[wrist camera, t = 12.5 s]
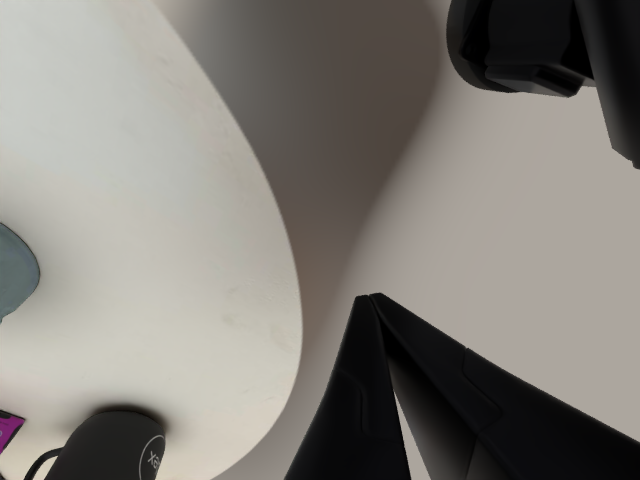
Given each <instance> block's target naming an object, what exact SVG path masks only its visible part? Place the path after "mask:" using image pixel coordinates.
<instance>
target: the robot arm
mask: <svg viewBox="0 0 640 480" xmlns="http://www.w3.org/2000/svg"><path fill="white" fill-rule="evenodd" d="M468 45H470V46H471V52H470V53H469V54H468V55H467V54H466V48H467V46H468ZM458 55H459V58H460V59H462V60H464V61H466V62H469V63H471V64H474V65H476V66H479V67H481V68H483V69H486V72H485V76H486V78H487V79H489V80H492V81H494V82H497V83H499V84H502V85H504V86H507V87H509V88H512V89H514V90H517V91H520V92H527V93H535V94H543V95H551V96H559V97H567V98H569V97H571V96H574V95H576V94H577V92H578V91H579V89H580V88H581V86H588V87H596V88H597V92H598V96H599V100H600V103H601V107H602V111H603V115H604V119H605V123H606V126H607V131H608V134H609V138H610V142H611V145H612V148H613V149H614V150H615V151H617V152H618V153H619V154H621V155H622V156H624V157H625V158H626V159H628V160H631V161H632V163H633V167H635V168H636V169H640V0H480V2H479V4H478V7H477V9H476V11H475V13H474V15H473V18H472V20H471V22H470V24H469V26H468V29H467V31H466V33H465V35H464V37H463V40H462V42H461V44H460V46H459V49H458ZM393 389H394V390H393ZM394 392H395V394H396V396H397V399H398V401H399V404H400V406H401V408H402V411H403V413H404V416H405V418H406V421H407V423H408V425H409V428H410V430H411V433H412V435H413V437H414V440H415V442H416V445H417V447H418V449H419V452H420V454H421V457H422V459H423V462H424V464H425V466H426V468H427V471H428V474H429V476H430V478H431V480H640V442H638V441H636V440H634V439H632V438H630V437H629V436H627V435H625V434H623V433H621V432H619V431H617V430H615V429H614V428H611V427H610V426H608V425H606V424H604V423H602V422H600V421H598V420H596V419H595V418H593V417H591V416H589V415H587V414H585V413H583V412H582V411H580V410H578V409H576V408H574V407H572V406H570V405H568V404H566V403H565V402H563V401H561V400H559V399H557V398H555V397H553V396H552V395H549V394H548V393H546V392H544V391H542V390H540V389H538V388H537V387H535V386H533V385H531V384H529V383H527V382H525V381H523V380H521V379H520V378H518V377H516V376H514V375H513V374H510V373H509V372H507V371H505V370H504V369H501V368H500V367H498V366H497V365H495V364H493V363H492V362H490V361H488V360H486V359H485V358H483V357H482V356H480V355H479V354H477V353H475V352H474V351H472V350H471V349H469V348H466V347H465V346H464V345H462V344H460V343H459V342H457V341H456V340H454V339H453V338H451V337H450V336H448V335H447V334H445V333H443V332H442V331H440V330H439V329H437V328H435V327H434V326H432V325H431V324H429V323H428V322H426V321H424V320H423V319H421V318H420V317H418V316H417V315H415V314H414V313H412V312H411V311H409V310H407V309H406V308H404V307H403V306H401V305H400V304H398V303H396V302H395V301H393V300H392V299H390V298H389V297H387V296H386V295H384V294H382V293H374V294H370V295H369V296H368V295H362V296H357V297H356V298H355V301H354V303H353V307H352V310H351V313H350V316H349V319H348V323H347V326H346V329H345V332H344V336H343V339H342V342H341V345H340V348H339V352H338V355H337V358H336V361H335V364H334V368H333V370H332V373H331V376H330V379H329V382H328V385H327V388H326V391H325V393H324V396H323V398H322V400H321V403H320V405H319V407H318V410H317V412H316V414H315V416H314V418H313V420H312V422H311V424H310V427H309V429H308V431H307V433H306V435H305V437H304V439H303V441H302V443H301V445H300V447H299V449H298V452H297V453H296V455H295V457H294V460H293V462H292V464H291V466H290V468H289V470H288V472H287V474H286V476H285V478H284V480H411V476H410V470H409V465H408V460H407V455H406V450H405V447H404V441H403V436H402V431H401V425H400V421H399V415H398V410H397V406H396V400H395V395H394Z"/></svg>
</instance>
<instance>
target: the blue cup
mask: <svg viewBox="0 0 640 480" xmlns="http://www.w3.org/2000/svg"><path fill="white" fill-rule="evenodd" d="M38 281H39V268H38V265H37V262H36V259H35V257H34V256H33V254H32V253H31V251H30V250H29V248H28V247H27V246H26V245H25V243H24V242H23V241H22V240H21V239H20V238H19V237H18V236H17V235H15V234H14V233H13V232H12V231H10V230H9V229H8V228H7V227H5V226H4V225H2V224H1V223H0V324H1V323H2V319H3V317H5V316H6V315H8V314H10V313H12V312H13V311H15V310H16V309H17V308H18V307H19V306H20V305H21V304H22V303H23V302H24V301H25V300H26V299H27V298H28V297H29V296H30V295H31V294H32V292H33V291H34V290H35V288H36V286H37V284H38Z"/></svg>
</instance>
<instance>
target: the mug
mask: <svg viewBox="0 0 640 480" xmlns="http://www.w3.org/2000/svg"><path fill="white" fill-rule="evenodd" d="M164 451H165V434H164V431H163V429H162V427H161V426H160V425H159V424H158V423H157V422H155V421H154V420H152V419H150V418H148V417H146V416H144V415H142V414H139V413H135V412H128V411H114V412H105V413H100V414H97V415H95V416H92V417H91V418H89V419H87V420H86V421H85V422H83V423H82V424H81V425H80V426H79V427H78V428H77V429H76V430H75V431H74V432H73V433H72V434H71V436H70V437H69V439H68V441H67V442H66V444H65V446H64V447H62V448H57V449H54V450H51V451H48V452H46V453H44V454H43V455H41V456H40V457H39V458H38V459H37V460H36V461H35V462H34V464H33V465H32V466H31V468H30V469H29V471H28V472H27V474H26V476H25V478H24V480H33V478H34V476H35V474H36V472H37V471H38V469H39V468H40V466H41V465H42V464H43V463H44V462H45V461H46V460H47V459H49V458H52V457H55V456H58V457H57V459H56V460H55V462H54V464H53V465H52V467H51V469H50V470H49V472H48V474H47V476H46V477H45V479H44V480H155V478H156V475H157V472H158V469H159V466H160V463H161V460H162V457H163V454H164Z"/></svg>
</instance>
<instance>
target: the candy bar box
mask: <svg viewBox="0 0 640 480" xmlns="http://www.w3.org/2000/svg"><path fill="white" fill-rule="evenodd" d="M24 422H25V421H24V420H23V419H21V418H18V417H15V416H12V415H9V414H7V413H4V412H1V411H0V455H1V453H2V452H3V451H4V449H5V448H6V447H7V446H8V444H9V443H10V442H11V440H12V439H13V438H14V436H15V435H16V434H17V432H18V431H19V429H20V428H21V427H22V425H23V424H24Z"/></svg>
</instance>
